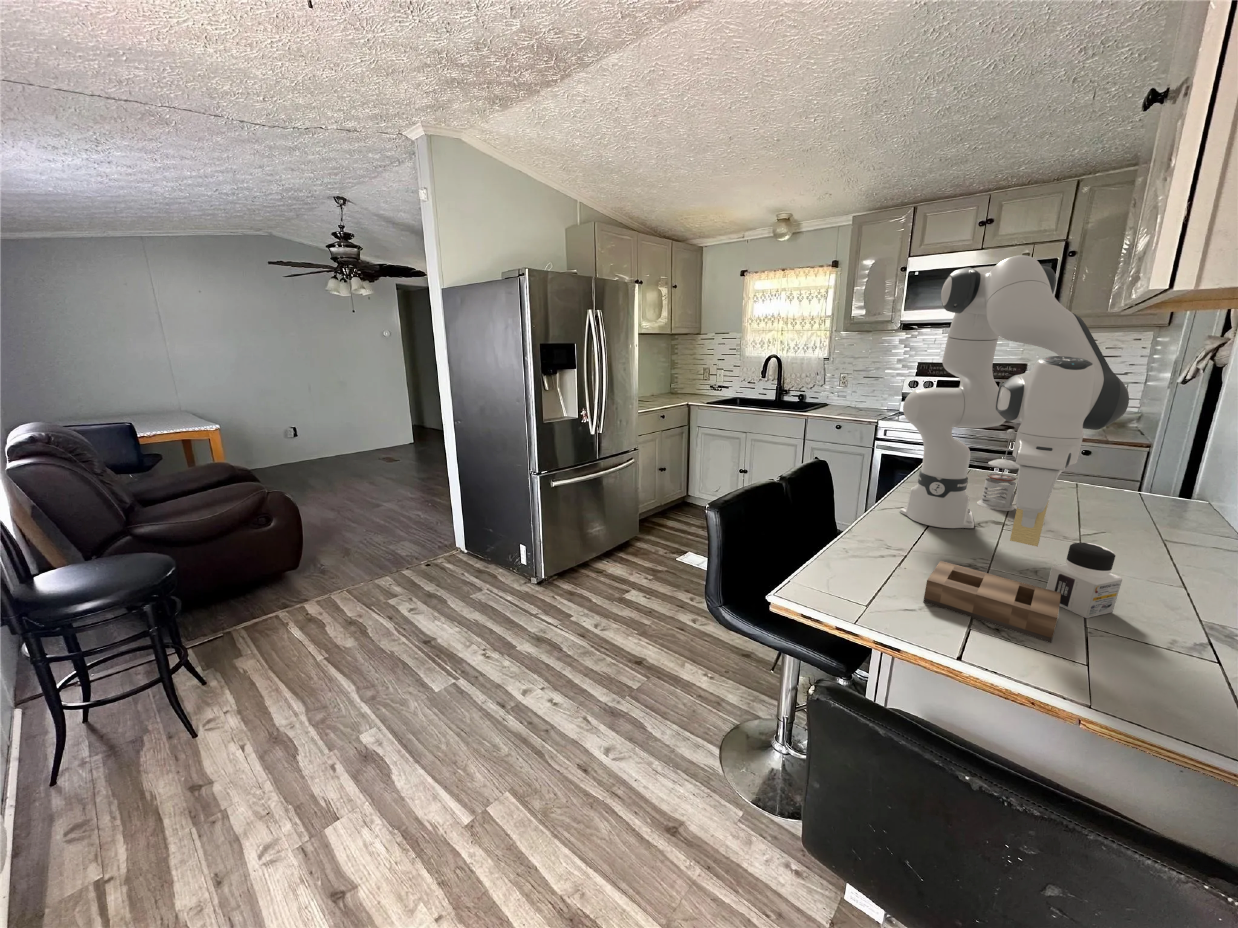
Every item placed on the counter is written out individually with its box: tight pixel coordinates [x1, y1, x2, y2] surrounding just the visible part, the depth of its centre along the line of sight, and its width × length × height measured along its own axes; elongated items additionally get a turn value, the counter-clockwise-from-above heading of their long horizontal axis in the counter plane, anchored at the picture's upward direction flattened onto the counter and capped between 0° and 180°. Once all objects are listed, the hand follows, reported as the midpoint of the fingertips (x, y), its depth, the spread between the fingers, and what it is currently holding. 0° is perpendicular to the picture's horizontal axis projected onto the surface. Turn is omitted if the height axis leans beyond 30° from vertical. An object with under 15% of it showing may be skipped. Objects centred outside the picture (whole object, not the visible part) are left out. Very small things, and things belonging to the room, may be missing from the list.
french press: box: [976, 429, 1019, 512], centre depth 152 cm, size 10×12×25 cm
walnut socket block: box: [923, 560, 1061, 644], centre depth 97 cm, size 12×20×5 cm, turn 46°
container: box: [1045, 542, 1123, 619], centre depth 97 cm, size 8×8×13 cm
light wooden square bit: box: [1009, 499, 1050, 547], centre depth 90 cm, size 4×4×8 cm
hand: (1029, 522), depth 90 cm, fingers closed on light wooden square bit, 4 cm apart
